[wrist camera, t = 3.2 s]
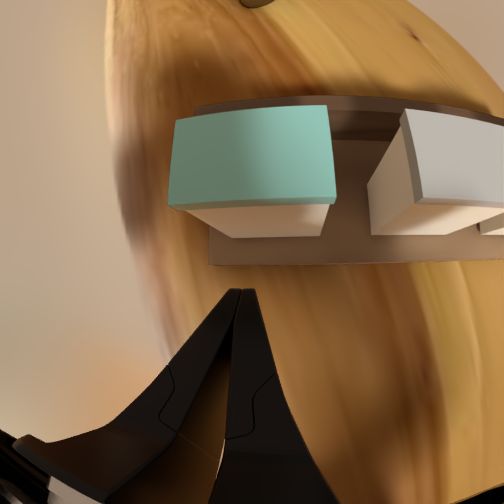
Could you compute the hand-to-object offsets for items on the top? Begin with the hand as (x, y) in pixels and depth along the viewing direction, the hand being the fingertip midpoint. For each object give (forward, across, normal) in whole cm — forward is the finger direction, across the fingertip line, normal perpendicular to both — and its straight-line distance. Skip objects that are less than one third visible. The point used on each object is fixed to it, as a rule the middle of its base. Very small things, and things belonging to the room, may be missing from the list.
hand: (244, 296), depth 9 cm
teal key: (+8, 0, +2) cm, 8 cm away
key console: (+10, -8, +2) cm, 13 cm away
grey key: (+8, -8, +2) cm, 12 cm away
